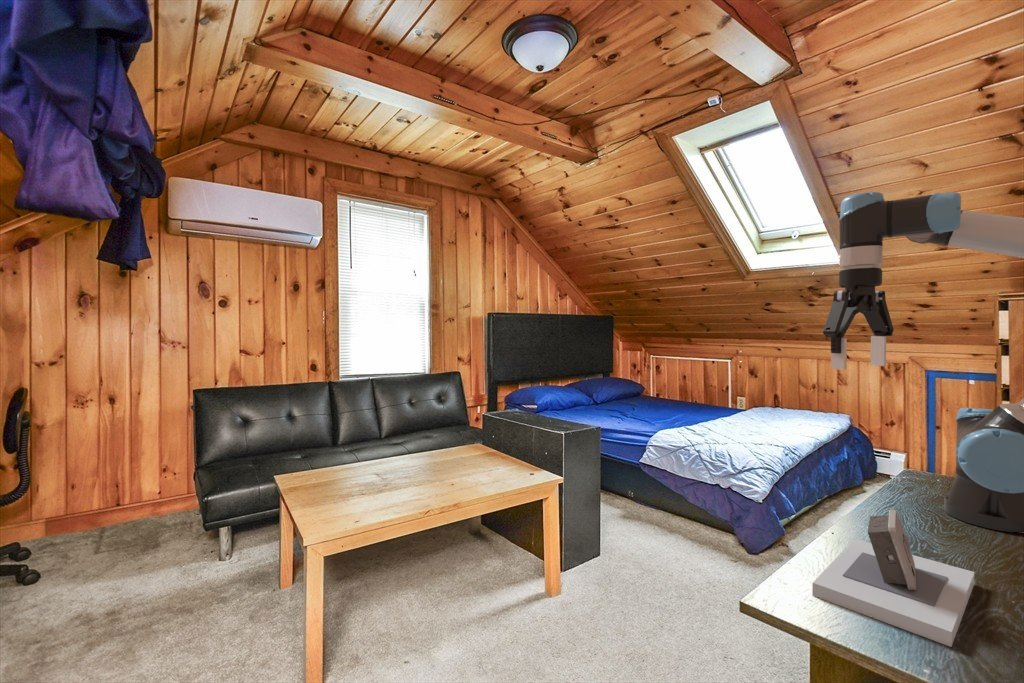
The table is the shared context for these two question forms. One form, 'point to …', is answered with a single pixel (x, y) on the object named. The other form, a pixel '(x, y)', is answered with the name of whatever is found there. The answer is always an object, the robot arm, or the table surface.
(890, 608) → the mounting board
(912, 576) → the electrical switch
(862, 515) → the table surface
